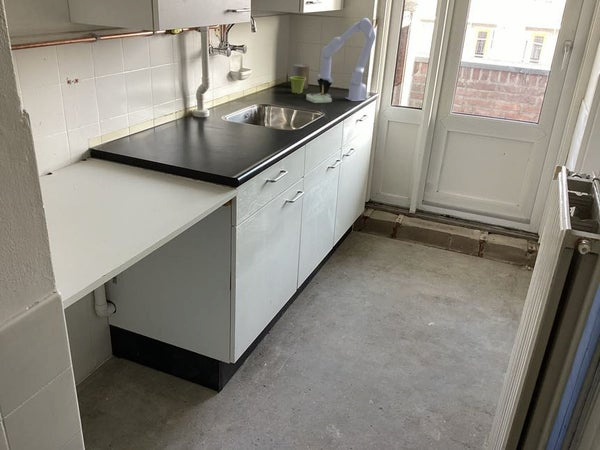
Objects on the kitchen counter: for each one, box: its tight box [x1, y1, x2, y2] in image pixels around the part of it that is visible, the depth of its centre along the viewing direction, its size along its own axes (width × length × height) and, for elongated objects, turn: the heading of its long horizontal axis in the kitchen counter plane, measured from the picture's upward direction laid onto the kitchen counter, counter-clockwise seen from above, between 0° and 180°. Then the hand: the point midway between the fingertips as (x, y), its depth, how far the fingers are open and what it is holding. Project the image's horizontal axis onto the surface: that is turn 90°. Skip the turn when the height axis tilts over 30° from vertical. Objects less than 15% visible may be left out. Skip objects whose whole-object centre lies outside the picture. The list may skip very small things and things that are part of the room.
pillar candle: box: [292, 63, 310, 90], centre depth 327 cm, size 10×10×15 cm
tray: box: [305, 94, 333, 104], centre depth 298 cm, size 11×9×2 cm
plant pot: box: [289, 76, 306, 95], centre depth 314 cm, size 9×9×9 cm
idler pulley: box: [305, 93, 317, 96], centre depth 306 cm, size 7×7×2 cm
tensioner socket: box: [316, 92, 332, 99], centre depth 309 cm, size 6×6×2 cm
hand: (323, 92), depth 308 cm, fingers open, 3 cm apart
